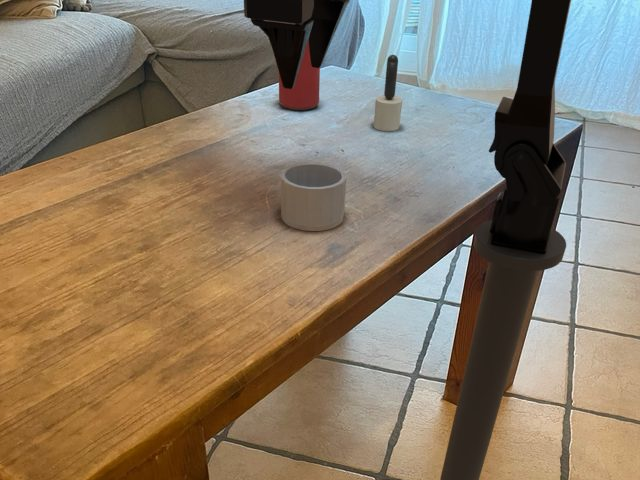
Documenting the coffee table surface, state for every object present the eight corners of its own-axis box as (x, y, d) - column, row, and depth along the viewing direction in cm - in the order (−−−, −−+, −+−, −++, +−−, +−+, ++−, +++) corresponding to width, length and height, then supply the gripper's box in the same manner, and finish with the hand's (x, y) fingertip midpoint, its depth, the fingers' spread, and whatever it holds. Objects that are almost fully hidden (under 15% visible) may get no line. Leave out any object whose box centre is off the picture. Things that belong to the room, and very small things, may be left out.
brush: (402, 124, 103) (409, 53, 97) (395, 132, 101) (403, 59, 94) (377, 121, 104) (383, 50, 97) (370, 129, 101) (376, 56, 95)
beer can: (327, 105, 109) (329, 21, 101) (301, 114, 105) (301, 28, 97) (296, 96, 112) (297, 14, 104) (270, 105, 108) (268, 21, 100)
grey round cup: (351, 209, 80) (353, 168, 77) (331, 235, 75) (333, 193, 72) (294, 199, 82) (294, 158, 79) (271, 224, 77) (270, 182, 73)
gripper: (266, -106, 74) (269, 50, 85) (188, -92, 61) (203, 90, 72) (361, -99, 72) (352, 61, 82) (300, -83, 59) (299, 104, 69)
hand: (302, 77), depth 77 cm, fingers open, 9 cm apart
